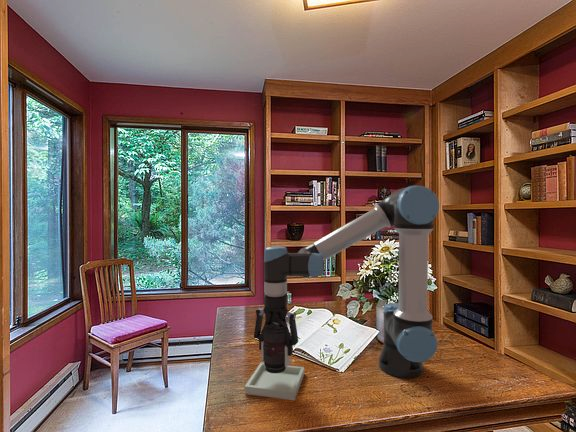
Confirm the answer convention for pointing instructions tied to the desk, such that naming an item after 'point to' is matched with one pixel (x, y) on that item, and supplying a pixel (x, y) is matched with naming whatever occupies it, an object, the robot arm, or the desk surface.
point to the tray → (275, 382)
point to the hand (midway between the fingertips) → (275, 362)
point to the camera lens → (274, 347)
